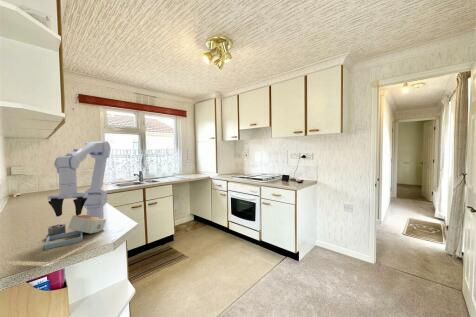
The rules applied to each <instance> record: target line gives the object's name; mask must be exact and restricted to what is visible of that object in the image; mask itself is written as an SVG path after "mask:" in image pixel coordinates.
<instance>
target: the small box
mask: <svg viewBox="0 0 476 317" xmlns="http://www.w3.org/2000/svg"><path fill="white" fill-rule="evenodd" d="M106 222H107V219H106V218H104V219H102V218H97V217H93V216H88V215H87V214H80V215H77V216H76V215H72V216H71V219H70V222H69V224H68V227H67V229H68V230H71V229H72V230H76V231H81V232H82V233H87V234H94V233H99V232H101V231H103V230H104V228H105V224H106Z"/></svg>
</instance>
